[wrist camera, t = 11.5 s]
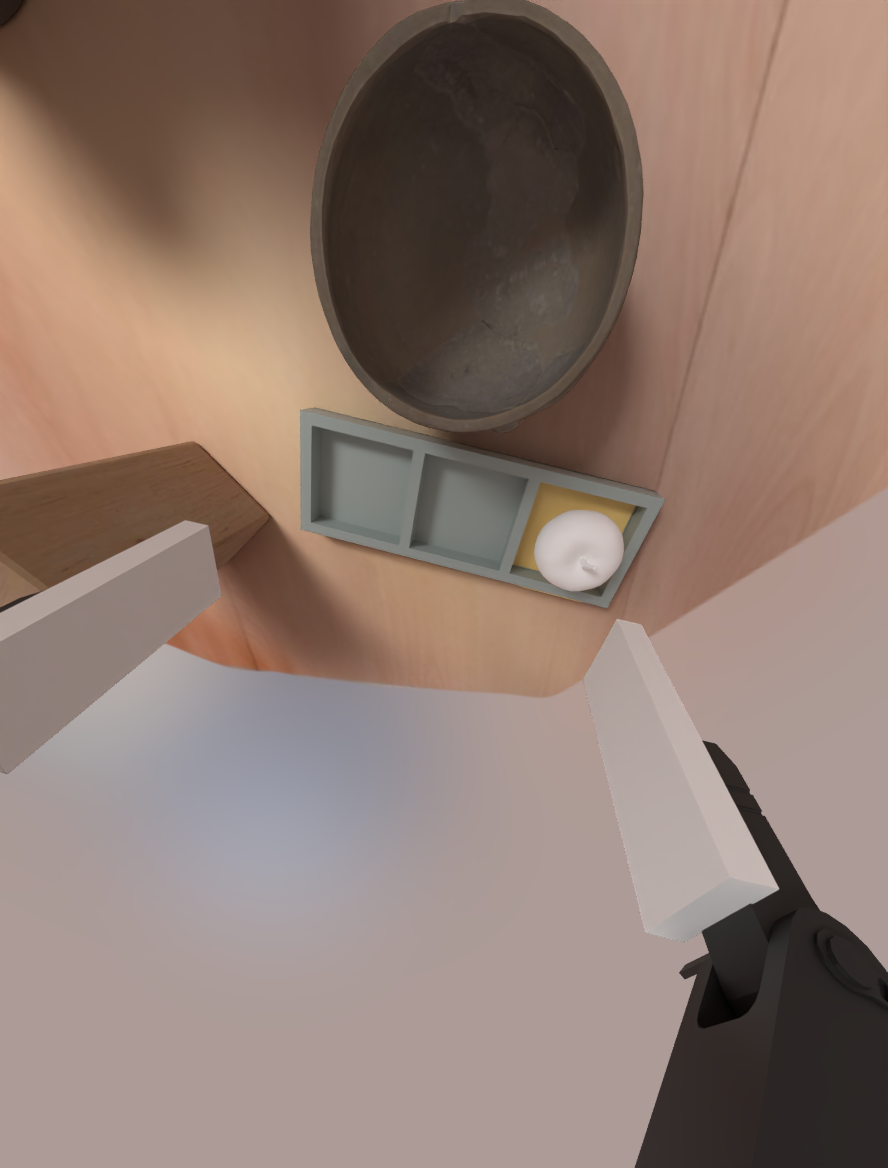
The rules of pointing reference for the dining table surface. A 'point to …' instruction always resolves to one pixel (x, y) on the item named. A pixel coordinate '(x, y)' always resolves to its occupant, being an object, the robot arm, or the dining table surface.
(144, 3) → the dining table surface
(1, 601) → the wooden block
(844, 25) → the dining table surface
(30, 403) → the dining table surface
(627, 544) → the grey-green compartment tray
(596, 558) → the plain white apple
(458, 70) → the bowl
